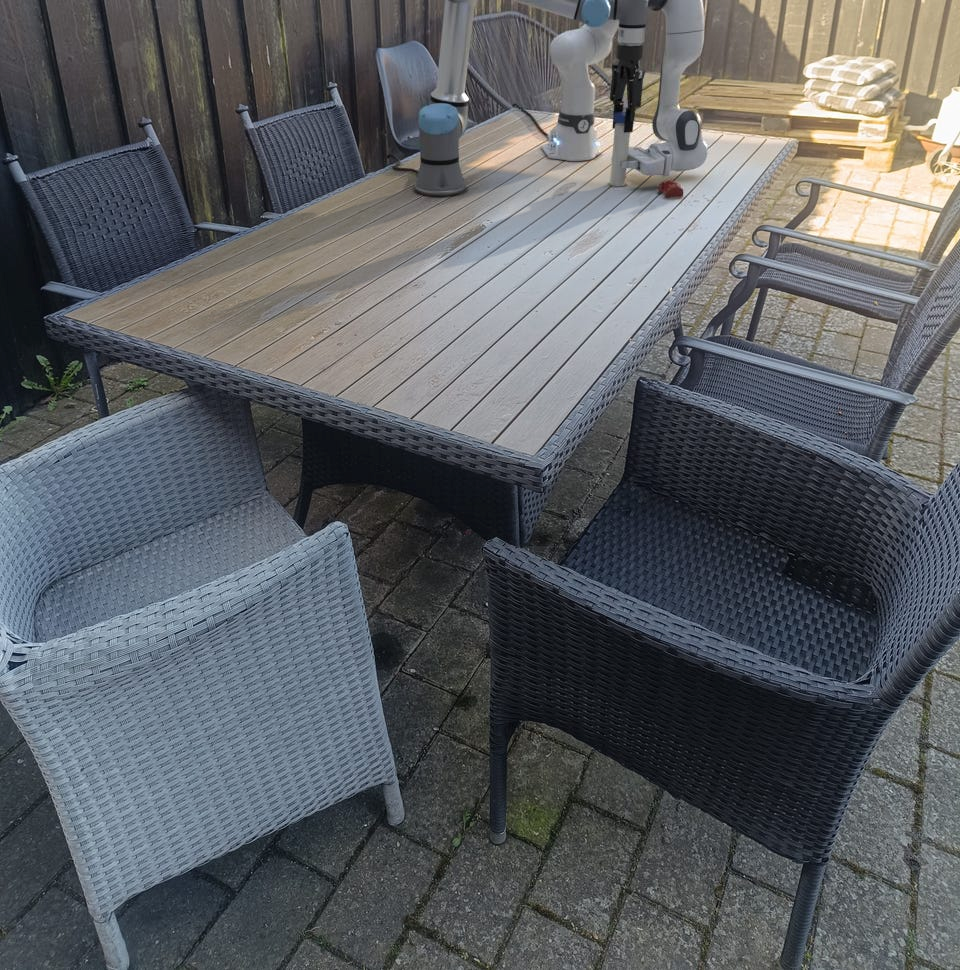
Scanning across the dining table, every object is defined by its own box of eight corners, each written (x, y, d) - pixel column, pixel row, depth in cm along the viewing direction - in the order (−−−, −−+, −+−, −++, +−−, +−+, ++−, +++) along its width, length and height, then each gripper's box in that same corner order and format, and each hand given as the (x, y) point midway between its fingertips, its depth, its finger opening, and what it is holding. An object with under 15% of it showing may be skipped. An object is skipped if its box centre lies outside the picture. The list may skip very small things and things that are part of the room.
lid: (610, 121, 253) (610, 113, 252) (623, 118, 256) (624, 110, 254) (622, 124, 249) (623, 116, 248) (636, 122, 252) (637, 114, 251)
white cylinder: (625, 182, 265) (631, 115, 253) (624, 186, 261) (631, 118, 249) (610, 181, 265) (615, 114, 254) (609, 186, 262) (615, 118, 250)
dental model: (674, 175, 255) (686, 183, 249) (673, 189, 258) (684, 197, 251) (657, 177, 254) (668, 185, 248) (656, 192, 257) (667, 200, 250)
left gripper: (601, 40, 246) (595, 124, 259) (637, 49, 232) (629, 137, 246) (623, 38, 248) (615, 122, 262) (660, 47, 235) (650, 135, 248)
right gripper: (643, 140, 269) (603, 143, 265) (674, 156, 253) (632, 160, 249) (641, 160, 272) (602, 164, 269) (671, 177, 256) (630, 181, 253)
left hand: (622, 129), depth 254 cm, fingers closed on lid, 5 cm apart
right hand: (616, 162), depth 259 cm, fingers closed on white cylinder, 5 cm apart
